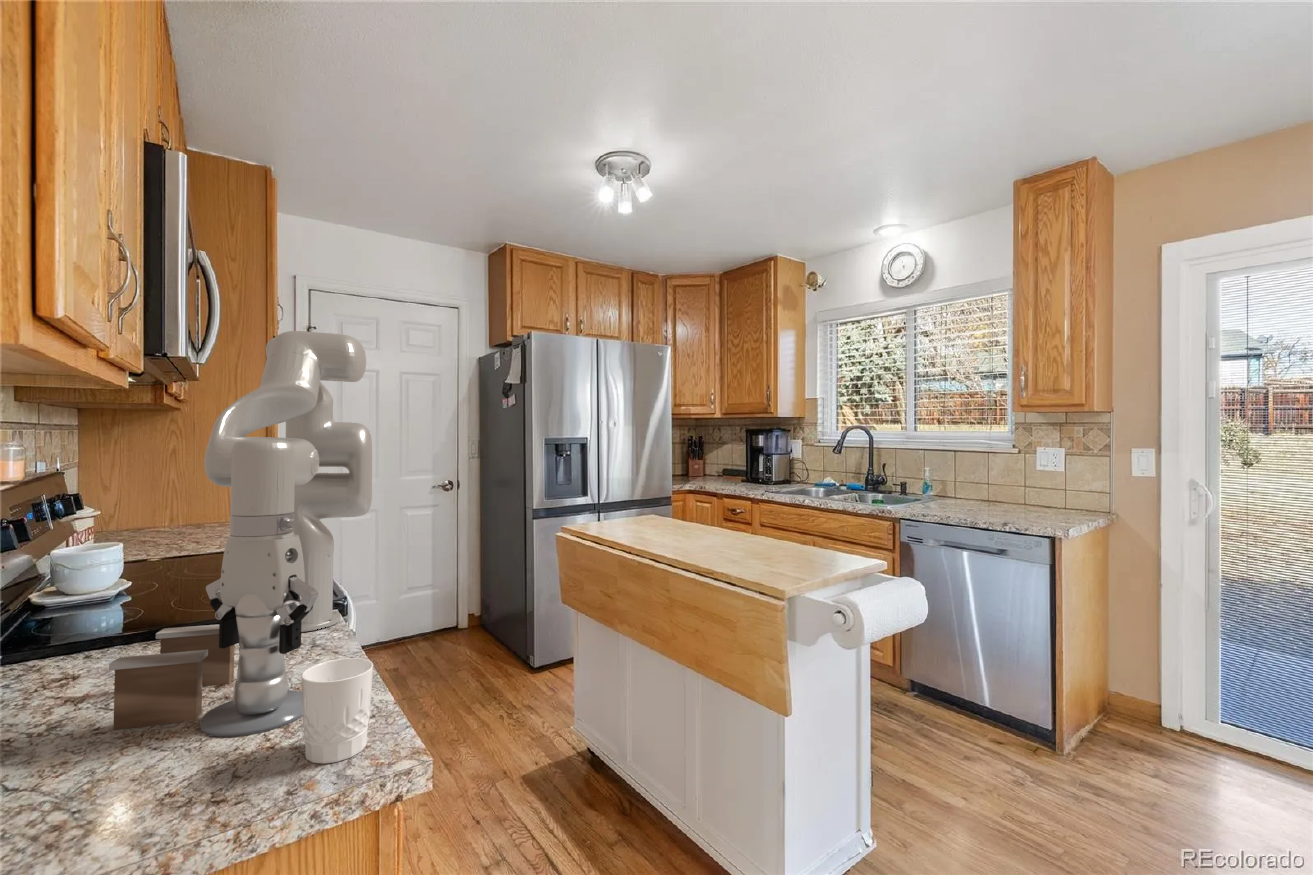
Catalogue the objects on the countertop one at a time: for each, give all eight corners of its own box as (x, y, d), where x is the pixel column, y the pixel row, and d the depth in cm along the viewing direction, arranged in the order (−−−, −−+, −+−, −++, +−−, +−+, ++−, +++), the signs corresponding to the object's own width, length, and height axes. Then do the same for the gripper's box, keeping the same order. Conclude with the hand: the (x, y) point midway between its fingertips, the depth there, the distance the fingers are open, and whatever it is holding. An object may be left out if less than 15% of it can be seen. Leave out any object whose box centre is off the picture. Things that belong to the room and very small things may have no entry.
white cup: (287, 753, 72) (289, 672, 72) (350, 728, 78) (352, 653, 78) (320, 774, 67) (321, 687, 68) (384, 745, 74) (385, 666, 74)
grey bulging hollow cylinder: (239, 726, 77) (243, 574, 78) (226, 710, 82) (229, 566, 82) (294, 710, 82) (297, 567, 82) (279, 695, 87) (282, 560, 87)
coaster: (220, 700, 86) (220, 696, 86) (320, 689, 90) (320, 685, 90) (182, 743, 74) (182, 739, 74) (300, 728, 78) (300, 723, 78)
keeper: (162, 685, 91) (163, 628, 91) (238, 677, 95) (239, 622, 95) (107, 731, 77) (109, 664, 77) (199, 720, 80) (200, 656, 80)
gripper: (336, 525, 85) (333, 643, 84) (234, 520, 88) (231, 635, 87) (295, 532, 77) (292, 662, 77) (185, 527, 80) (182, 652, 80)
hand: (260, 647), depth 82 cm, fingers open, 9 cm apart
